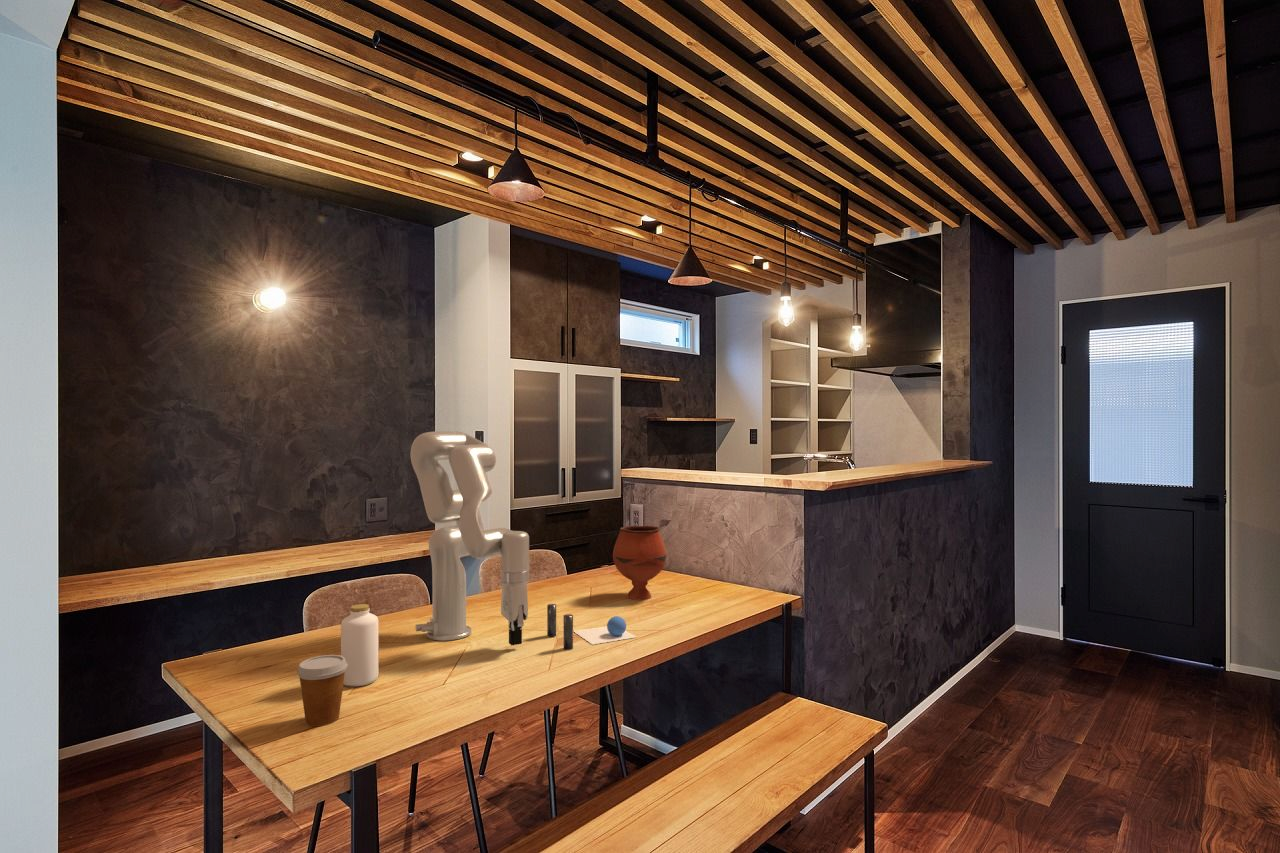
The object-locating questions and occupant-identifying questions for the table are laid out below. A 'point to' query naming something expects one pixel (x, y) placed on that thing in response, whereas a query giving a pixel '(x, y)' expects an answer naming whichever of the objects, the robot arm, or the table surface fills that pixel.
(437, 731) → the table surface
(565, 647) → the post
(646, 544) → the goblet
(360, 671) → the potion bottle
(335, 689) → the disposable coffee cup
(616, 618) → the ball
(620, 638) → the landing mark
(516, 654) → the table surface
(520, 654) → the table surface
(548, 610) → the post
